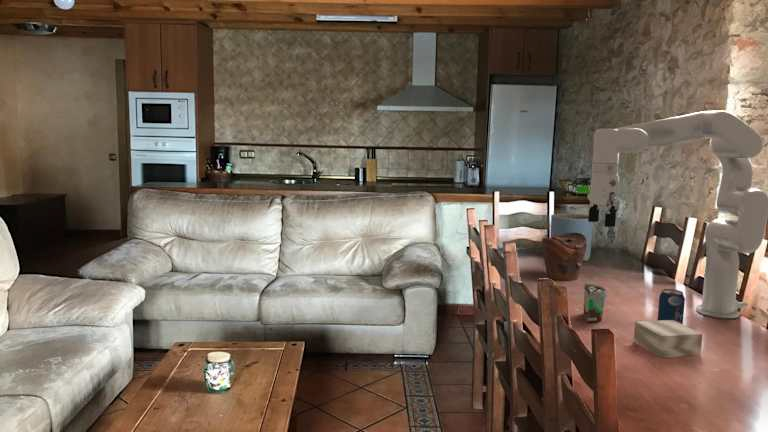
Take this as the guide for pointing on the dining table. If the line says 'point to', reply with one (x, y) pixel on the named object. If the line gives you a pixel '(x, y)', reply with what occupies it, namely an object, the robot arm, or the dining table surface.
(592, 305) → the food container
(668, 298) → the soda can
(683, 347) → the ash block
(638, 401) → the dining table surface
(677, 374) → the dining table surface
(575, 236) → the brown tapered round vessel
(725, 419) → the dining table surface
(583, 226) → the planter
